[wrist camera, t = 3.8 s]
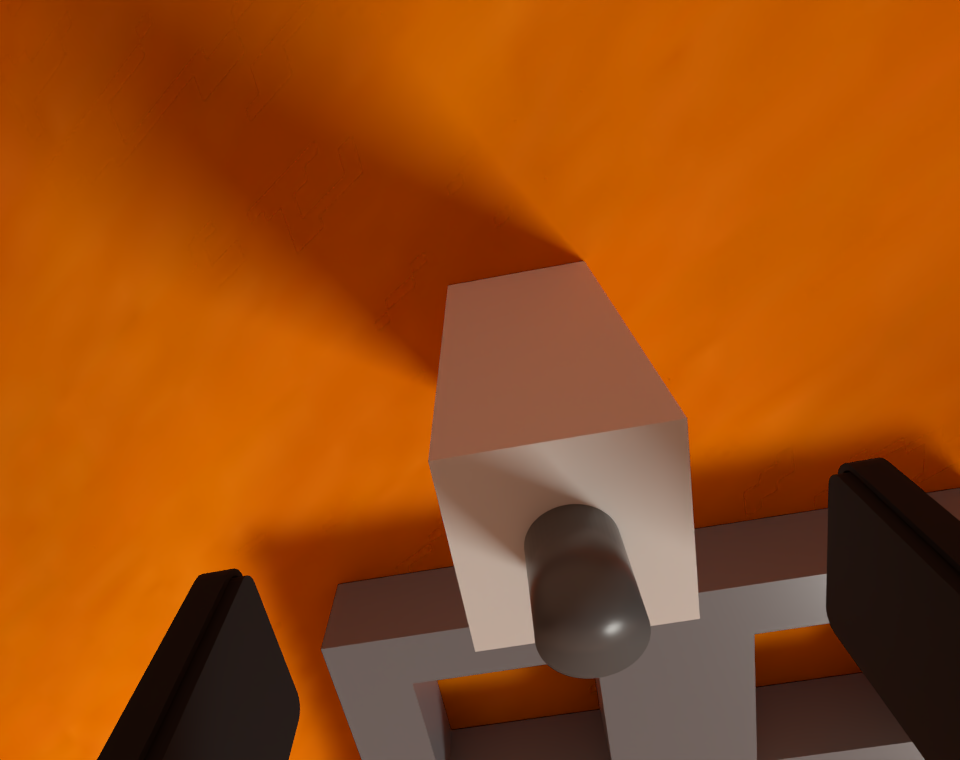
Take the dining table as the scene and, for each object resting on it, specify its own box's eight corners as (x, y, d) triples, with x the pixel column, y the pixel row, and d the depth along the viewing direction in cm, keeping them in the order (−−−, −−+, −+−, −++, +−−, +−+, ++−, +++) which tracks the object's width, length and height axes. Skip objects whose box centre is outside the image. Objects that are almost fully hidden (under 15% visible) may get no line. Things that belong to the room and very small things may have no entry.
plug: (448, 285, 20) (419, 541, 9) (584, 260, 19) (735, 491, 8) (473, 406, 21) (476, 754, 10) (599, 385, 21) (741, 717, 10)
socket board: (338, 584, 24) (318, 656, 21) (973, 485, 23) (1051, 547, 20) (421, 833, 29) (416, 918, 26) (935, 765, 28) (991, 847, 25)
